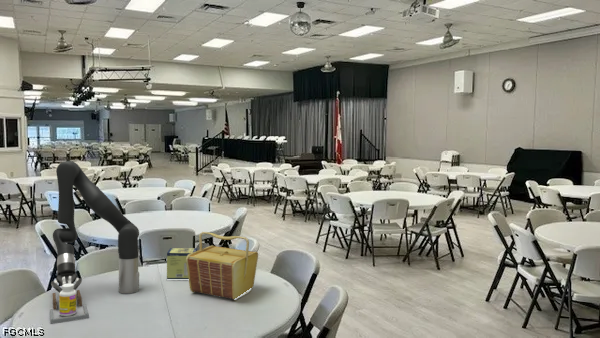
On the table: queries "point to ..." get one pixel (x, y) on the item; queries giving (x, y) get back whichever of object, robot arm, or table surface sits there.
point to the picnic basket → (221, 269)
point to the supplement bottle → (67, 300)
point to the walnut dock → (77, 300)
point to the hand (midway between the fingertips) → (67, 300)
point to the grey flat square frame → (69, 316)
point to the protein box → (178, 262)
